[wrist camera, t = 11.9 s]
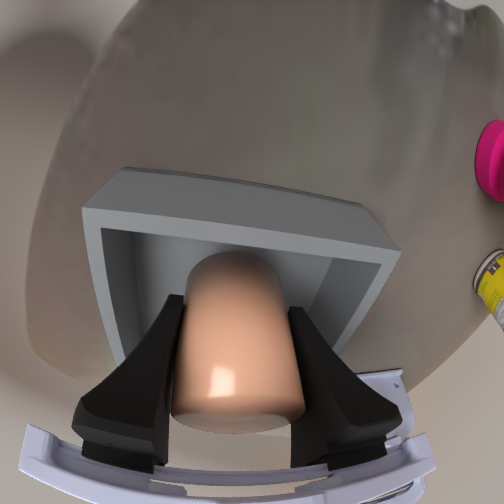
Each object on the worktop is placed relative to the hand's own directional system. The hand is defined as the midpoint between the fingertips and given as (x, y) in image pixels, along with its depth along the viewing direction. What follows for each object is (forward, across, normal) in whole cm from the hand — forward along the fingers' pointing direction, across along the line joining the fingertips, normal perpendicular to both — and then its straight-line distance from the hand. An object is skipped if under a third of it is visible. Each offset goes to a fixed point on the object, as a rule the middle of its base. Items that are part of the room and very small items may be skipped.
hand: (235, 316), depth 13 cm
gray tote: (+5, 0, +4) cm, 6 cm away
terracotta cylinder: (+2, 0, 0) cm, 2 cm away
